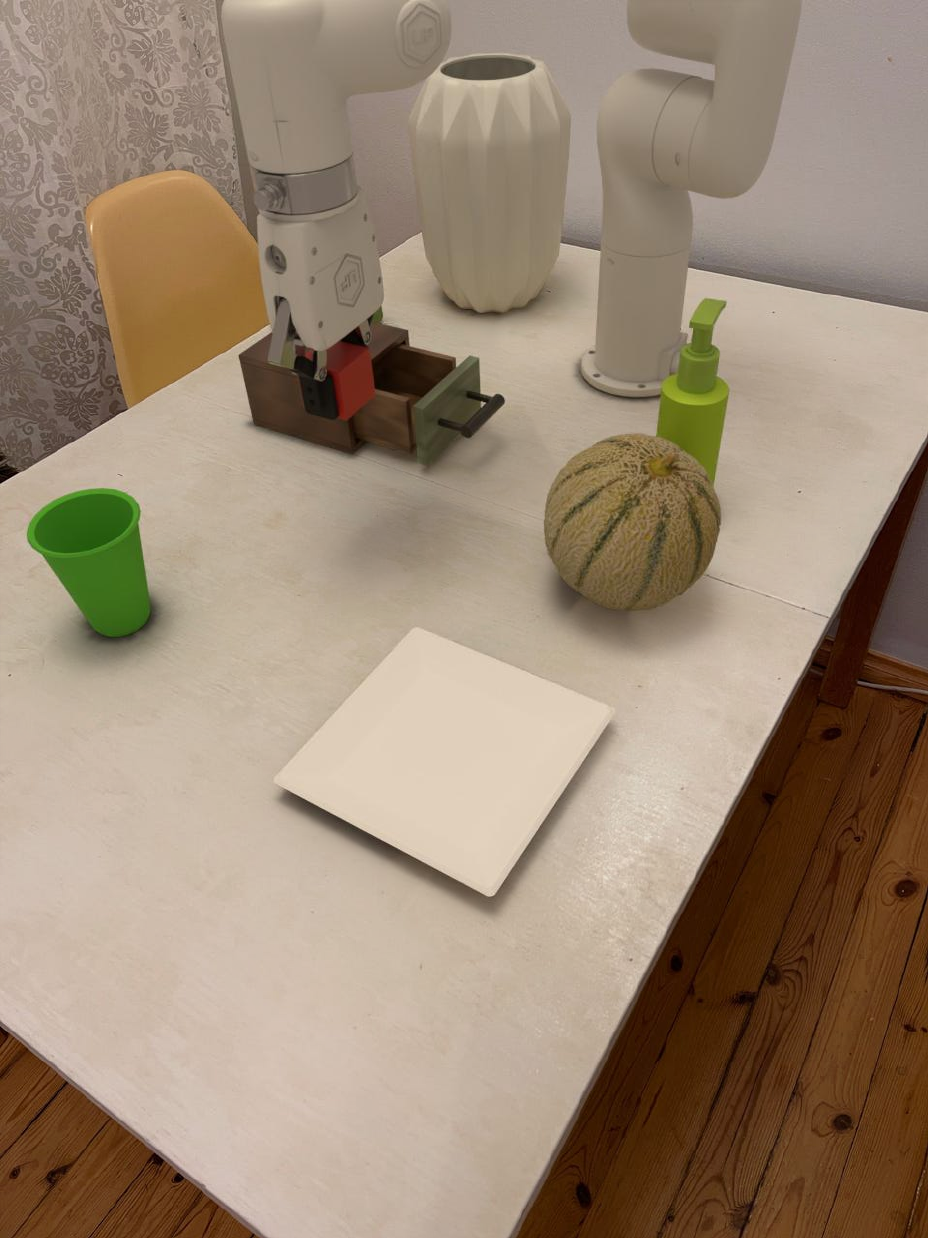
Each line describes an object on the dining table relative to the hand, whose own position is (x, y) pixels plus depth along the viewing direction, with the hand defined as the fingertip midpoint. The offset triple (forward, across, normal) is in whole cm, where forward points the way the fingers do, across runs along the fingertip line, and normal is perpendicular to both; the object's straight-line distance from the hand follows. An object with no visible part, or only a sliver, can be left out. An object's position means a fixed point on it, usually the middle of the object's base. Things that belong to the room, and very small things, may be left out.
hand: (339, 398), depth 83 cm
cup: (+15, -20, +12) cm, 28 cm away
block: (0, 0, 0) cm, 0 cm away
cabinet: (+15, +17, +15) cm, 27 cm away
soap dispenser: (+15, +18, -26) cm, 35 cm away
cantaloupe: (+15, +4, -26) cm, 30 cm away
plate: (+15, -20, -22) cm, 33 cm away
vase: (+16, +51, +13) cm, 55 cm away
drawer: (+14, +17, +3) cm, 22 cm away
